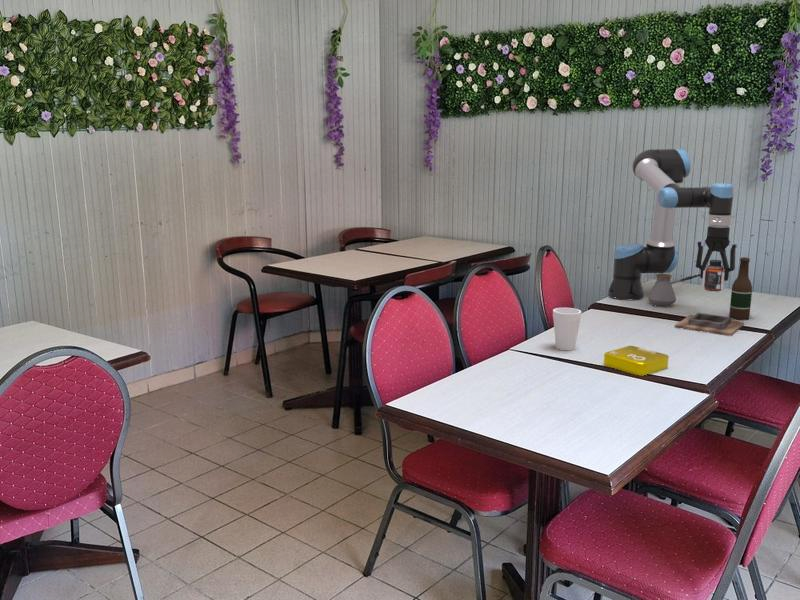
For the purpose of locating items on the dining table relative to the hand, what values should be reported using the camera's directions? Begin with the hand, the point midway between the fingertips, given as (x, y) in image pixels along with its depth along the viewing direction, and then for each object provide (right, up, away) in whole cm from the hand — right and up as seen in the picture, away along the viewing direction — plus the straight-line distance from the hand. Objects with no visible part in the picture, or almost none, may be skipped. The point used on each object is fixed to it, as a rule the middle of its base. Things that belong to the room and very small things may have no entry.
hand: (713, 287), depth 280 cm
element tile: (-43, -26, -44) cm, 67 cm away
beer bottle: (+17, -12, +16) cm, 26 cm away
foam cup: (-61, -21, -25) cm, 69 cm away
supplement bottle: (0, -1, 0) cm, 1 cm away
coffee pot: (-2, -8, +35) cm, 36 cm away
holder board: (0, -14, +3) cm, 15 cm away
